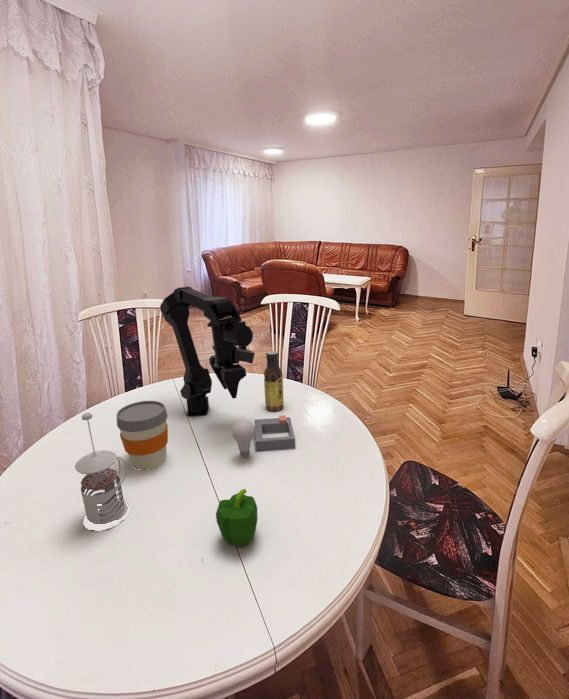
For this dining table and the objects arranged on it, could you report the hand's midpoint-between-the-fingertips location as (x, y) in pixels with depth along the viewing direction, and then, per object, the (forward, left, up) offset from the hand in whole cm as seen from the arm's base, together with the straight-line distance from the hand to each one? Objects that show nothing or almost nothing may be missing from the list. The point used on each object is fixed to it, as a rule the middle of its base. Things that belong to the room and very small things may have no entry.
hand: (230, 393), depth 119 cm
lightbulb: (+4, -15, -13) cm, 20 cm away
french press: (-26, -33, -13) cm, 44 cm away
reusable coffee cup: (-22, -13, -13) cm, 29 cm away
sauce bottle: (+14, +14, -13) cm, 23 cm away
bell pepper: (+3, -44, -13) cm, 46 cm away
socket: (+12, -6, -12) cm, 18 cm away
